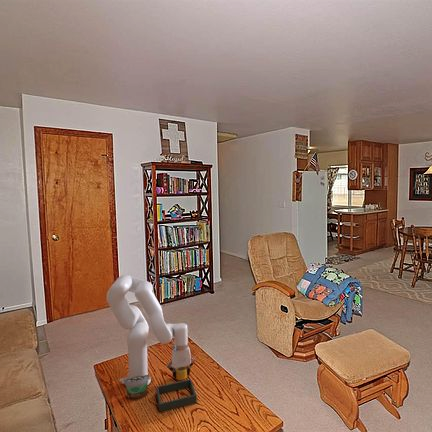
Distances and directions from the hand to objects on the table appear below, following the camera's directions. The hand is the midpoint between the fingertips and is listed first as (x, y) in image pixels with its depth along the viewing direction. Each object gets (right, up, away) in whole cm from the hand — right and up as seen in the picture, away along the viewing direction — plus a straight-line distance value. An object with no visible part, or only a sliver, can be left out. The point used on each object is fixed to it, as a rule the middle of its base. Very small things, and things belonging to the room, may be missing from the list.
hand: (181, 375), depth 194 cm
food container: (-17, -3, -18) cm, 25 cm away
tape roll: (0, -1, 0) cm, 1 cm away
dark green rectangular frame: (+3, -3, -18) cm, 19 cm away
